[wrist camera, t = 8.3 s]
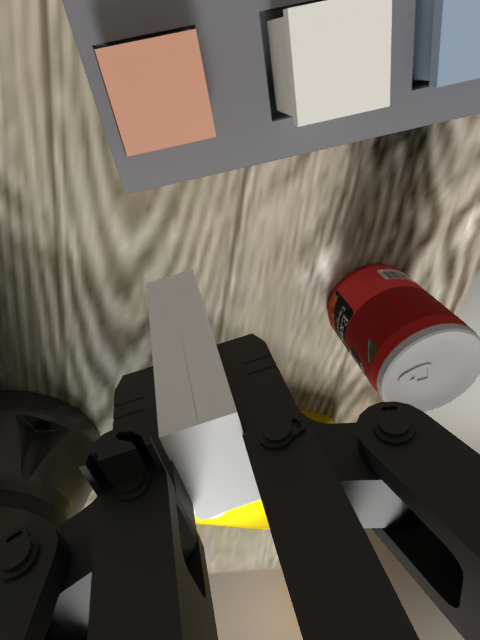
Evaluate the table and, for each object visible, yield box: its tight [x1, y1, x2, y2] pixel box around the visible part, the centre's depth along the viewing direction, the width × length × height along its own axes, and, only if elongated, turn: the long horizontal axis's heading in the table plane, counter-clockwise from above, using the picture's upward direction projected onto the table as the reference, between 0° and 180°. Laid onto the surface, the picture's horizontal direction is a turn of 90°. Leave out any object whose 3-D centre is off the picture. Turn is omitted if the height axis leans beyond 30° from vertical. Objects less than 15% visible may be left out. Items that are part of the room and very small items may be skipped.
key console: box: [62, 0, 480, 195], centre depth 26 cm, size 25×10×4 cm, turn 100°
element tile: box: [194, 409, 335, 530], centre depth 46 cm, size 15×15×5 cm
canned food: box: [328, 264, 480, 412], centre depth 34 cm, size 8×8×11 cm
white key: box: [267, 0, 392, 127], centre depth 23 cm, size 5×5×5 cm
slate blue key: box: [412, 0, 480, 88], centre depth 25 cm, size 5×5×5 cm
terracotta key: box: [94, 29, 216, 157], centre depth 24 cm, size 5×5×5 cm
